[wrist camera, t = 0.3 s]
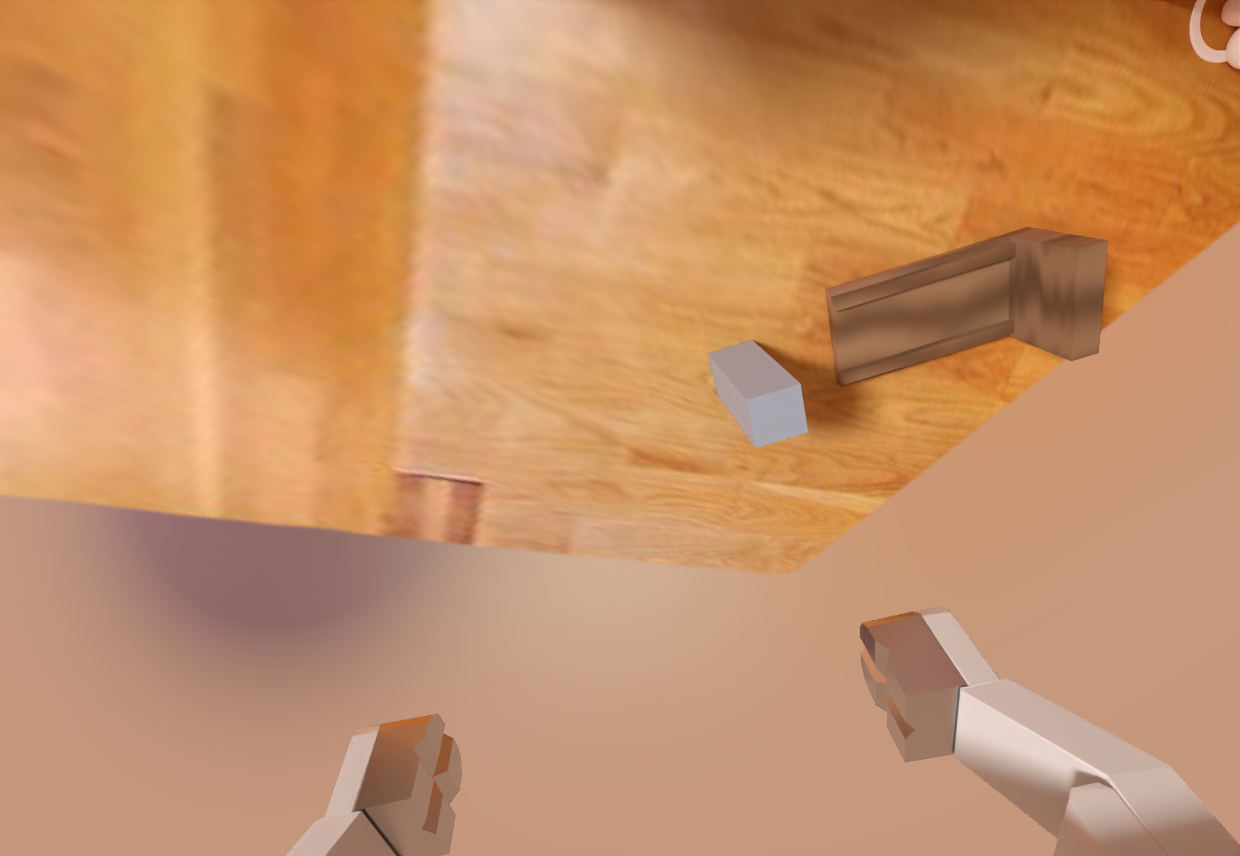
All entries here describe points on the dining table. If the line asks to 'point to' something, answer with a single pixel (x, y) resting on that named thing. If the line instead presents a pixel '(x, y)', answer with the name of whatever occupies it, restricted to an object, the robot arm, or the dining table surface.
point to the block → (758, 393)
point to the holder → (972, 303)
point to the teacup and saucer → (1235, 14)
